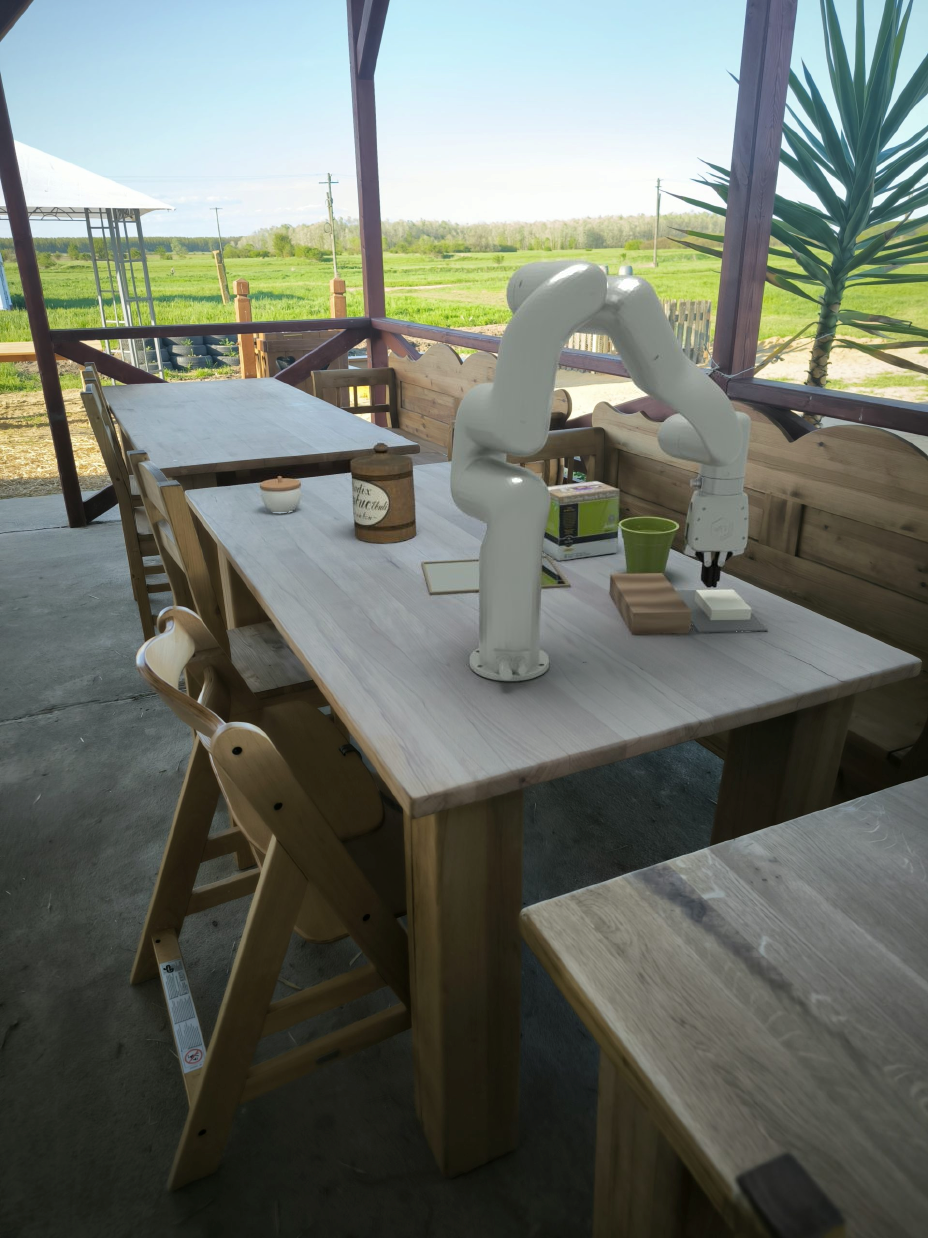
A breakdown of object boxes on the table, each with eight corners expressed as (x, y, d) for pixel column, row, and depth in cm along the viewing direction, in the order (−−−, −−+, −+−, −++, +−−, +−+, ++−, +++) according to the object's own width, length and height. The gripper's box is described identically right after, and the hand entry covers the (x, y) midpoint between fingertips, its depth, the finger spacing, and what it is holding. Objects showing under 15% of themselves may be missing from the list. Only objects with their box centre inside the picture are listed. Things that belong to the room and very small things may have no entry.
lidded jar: (268, 506, 224) (264, 472, 220) (307, 506, 223) (304, 472, 220) (257, 516, 214) (253, 481, 210) (298, 516, 213) (294, 481, 210)
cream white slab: (712, 609, 144) (711, 620, 144) (751, 609, 144) (750, 619, 144) (695, 590, 153) (694, 600, 154) (732, 589, 153) (731, 599, 154)
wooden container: (342, 534, 198) (336, 443, 189) (391, 523, 207) (387, 435, 198) (378, 547, 187) (374, 452, 179) (428, 535, 196) (426, 443, 188)
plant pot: (627, 564, 174) (630, 513, 170) (681, 573, 169) (686, 521, 164) (606, 581, 165) (609, 527, 161) (663, 591, 159) (668, 535, 155)
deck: (689, 633, 140) (691, 611, 138) (631, 634, 140) (633, 612, 138) (660, 592, 158) (662, 573, 157) (609, 593, 158) (610, 574, 157)
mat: (767, 631, 140) (767, 629, 140) (698, 633, 140) (698, 630, 140) (729, 591, 159) (729, 589, 159) (667, 592, 159) (668, 590, 158)
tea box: (595, 542, 190) (598, 479, 184) (617, 554, 181) (622, 488, 176) (537, 549, 185) (538, 485, 179) (557, 562, 176) (560, 495, 171)
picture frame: (430, 597, 159) (570, 589, 162) (429, 592, 158) (570, 584, 162) (421, 566, 176) (547, 559, 180) (421, 561, 176) (547, 555, 179)
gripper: (683, 490, 137) (673, 593, 144) (771, 489, 137) (757, 591, 144) (671, 480, 144) (663, 578, 151) (755, 479, 144) (743, 577, 151)
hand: (709, 584), depth 147 cm, fingers closed
